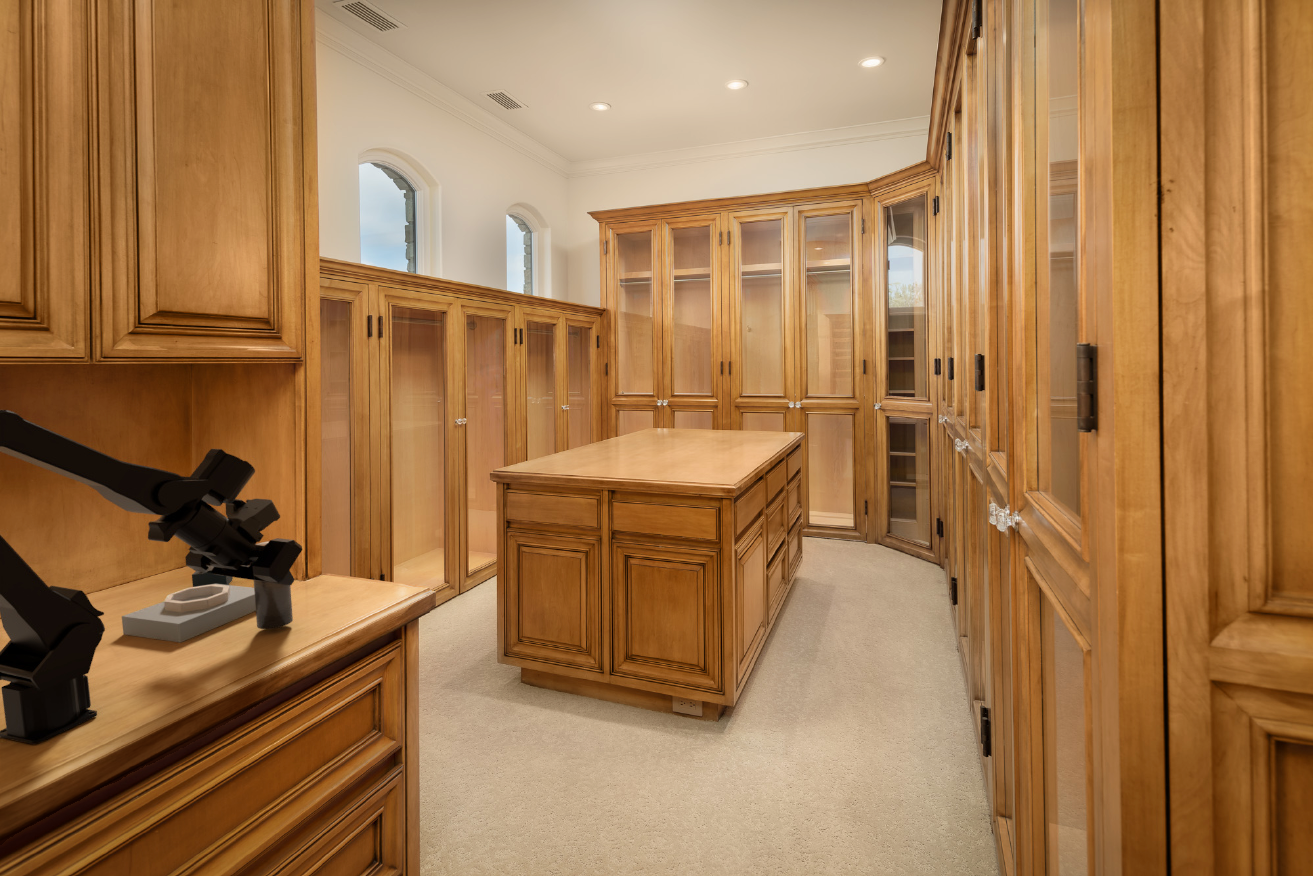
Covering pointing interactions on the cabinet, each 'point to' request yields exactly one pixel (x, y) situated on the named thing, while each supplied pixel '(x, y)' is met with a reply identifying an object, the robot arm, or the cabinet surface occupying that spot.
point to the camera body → (190, 612)
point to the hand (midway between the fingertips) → (279, 580)
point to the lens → (272, 603)
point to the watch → (209, 578)
